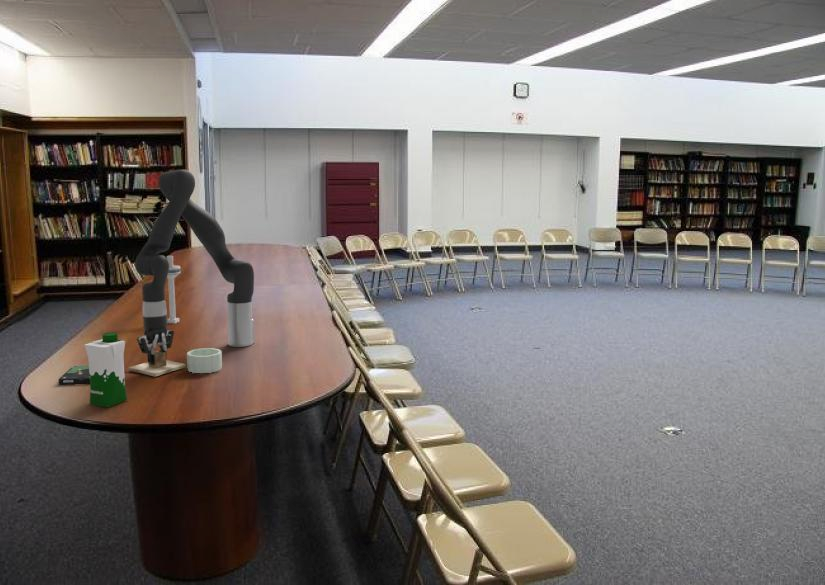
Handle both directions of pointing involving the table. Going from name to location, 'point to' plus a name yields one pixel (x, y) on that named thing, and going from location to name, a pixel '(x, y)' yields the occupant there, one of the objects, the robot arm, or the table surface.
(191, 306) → the table surface
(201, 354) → the green bowl
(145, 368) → the birch lid
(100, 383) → the milk carton
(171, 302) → the model tower
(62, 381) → the disk drive
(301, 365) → the table surface
